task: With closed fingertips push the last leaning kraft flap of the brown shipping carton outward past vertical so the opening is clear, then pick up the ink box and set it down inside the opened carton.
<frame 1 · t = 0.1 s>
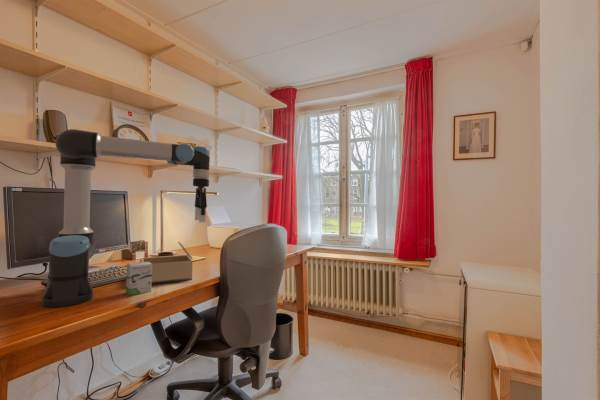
hand: (199, 221, 144), 28 cm above the table, fingers open, 13 cm apart
ink box: (138, 292, 120), on the table
flap: (184, 250, 145), point 13 cm above the table, hinge at -35.0°
mug: (167, 271, 155), on the table
carton: (166, 278, 141), on the table
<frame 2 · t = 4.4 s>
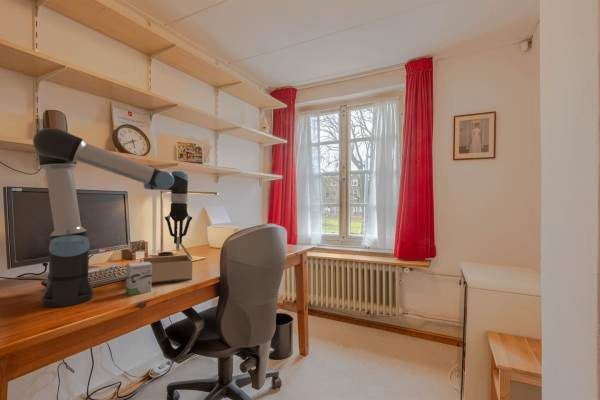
hand: (177, 250, 144), 13 cm above the table, fingers closed
flap: (185, 249, 145), point 13 cm above the table, hinge at -33.2°, touching gripper
everything else where it was.
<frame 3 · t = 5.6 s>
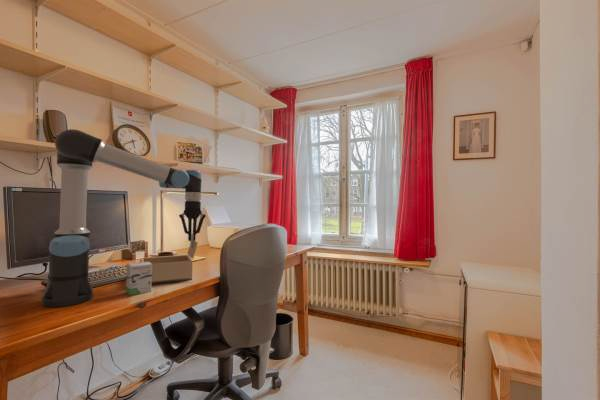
hand: (191, 247, 147), 14 cm above the table, fingers closed
flap: (192, 248, 147), point 14 cm above the table, hinge at 14.6°, touching gripper
everything else where it was.
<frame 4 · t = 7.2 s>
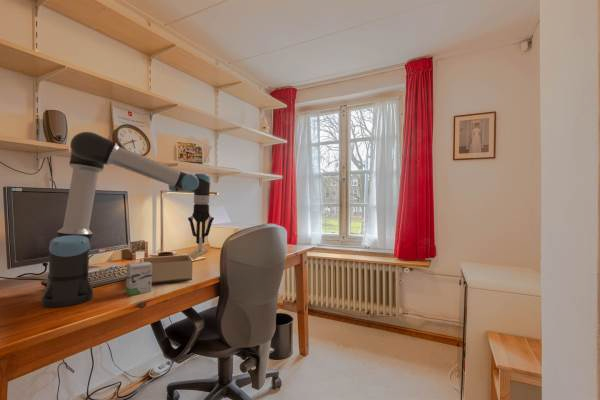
hand: (200, 249, 149), 13 cm above the table, fingers closed
flap: (198, 252, 148), point 12 cm above the table, hinge at 63.6°, touching gripper
everything else where it was.
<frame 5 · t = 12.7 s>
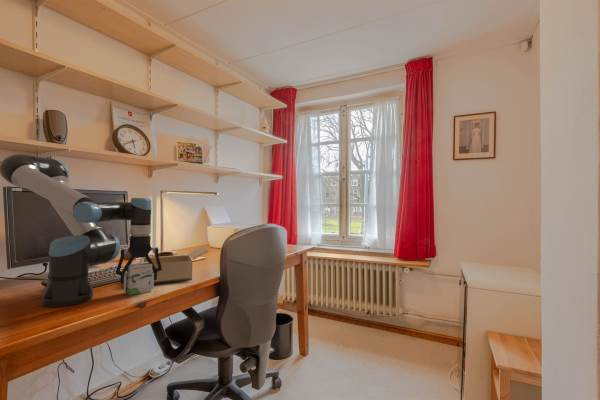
hand: (138, 289, 120), 1 cm above the table, fingers closed on ink box, 9 cm apart
ink box: (138, 292, 120), on the table, touching gripper
flap: (198, 252, 148), point 12 cm above the table, hinge at 63.6°
everything else where it was.
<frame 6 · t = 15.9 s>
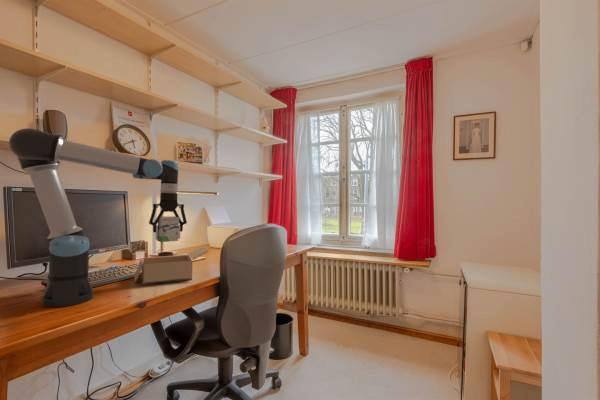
hand: (167, 238, 141), 19 cm above the table, fingers closed on ink box, 9 cm apart
ink box: (167, 241, 141), point 18 cm above the table, touching gripper
everything else where it was.
when the fingers open (2 cm above the table, at t = 19.4 s): ink box stays where it is, resting on carton.
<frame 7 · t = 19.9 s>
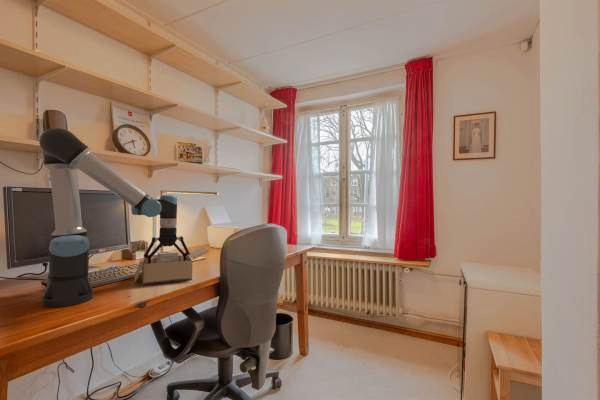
hand: (167, 270, 141), 4 cm above the table, fingers open, 13 cm apart
ink box: (167, 277, 141), resting on carton
everything else where it was.
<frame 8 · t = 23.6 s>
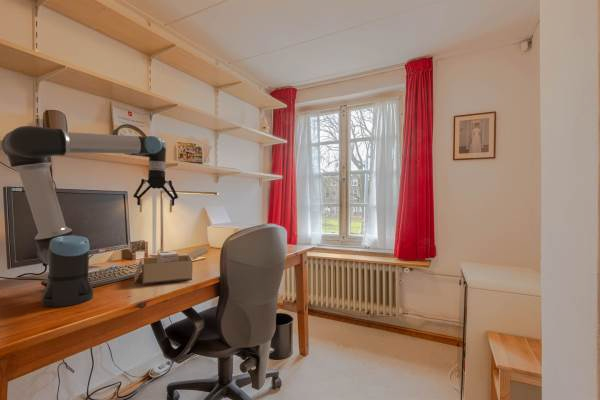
hand: (155, 212, 147), 32 cm above the table, fingers open, 13 cm apart
nothing on the table moved.
at the end: flap at +64° (first picture: -35°); ink box inside the target area (0.6 cm from its centre), resting on carton; ink box tilted 0° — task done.
